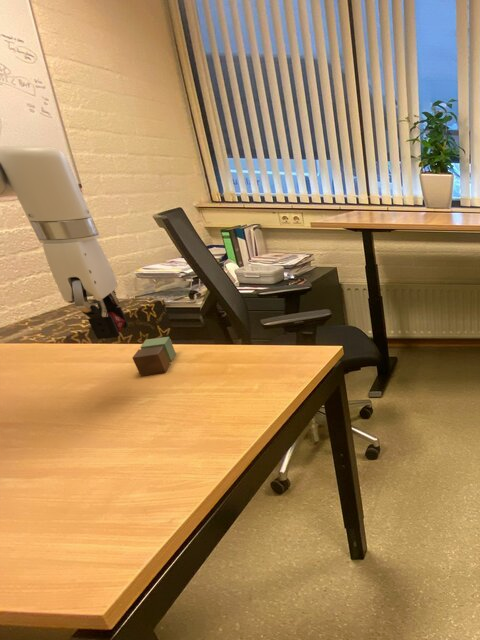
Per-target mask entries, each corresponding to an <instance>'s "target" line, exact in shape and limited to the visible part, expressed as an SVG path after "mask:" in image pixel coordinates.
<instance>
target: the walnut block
mask: <svg viewBox="0 0 480 640" xmlns="http://www.w3.org/2000/svg"><path fill="white" fill-rule="evenodd" d="M132 360H133V363H134V365H135V367H136V369H137V371H138V374H139V376H140V377H146V376H151V375H158V374H166V373H167V370H168V369H169V367H170V365H171V362H169V360H168V358H167V355H166V353H165V350H164V348H163V346H162V347H155V348H147V349H141V348H140V349H137V350H136V352H135V354H134V355H132Z"/></svg>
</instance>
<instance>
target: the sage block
mask: <svg viewBox="0 0 480 640" xmlns="http://www.w3.org/2000/svg"><path fill="white" fill-rule="evenodd" d="M162 346H163V348H164V350H165V353H166V355H167V358H168V360H169V363H171V362H173V360H174V358H175V357H176V355H177V352H176V350H175V348H174V345H173V343H172V340H171V338H170V336H164V337H163V336H162V337H155V338H148V339H145V340H144V341H143V343H142V344H141V345H140V349H147V348H155V347H162Z"/></svg>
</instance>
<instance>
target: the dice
mask: <svg viewBox="0 0 480 640" xmlns="http://www.w3.org/2000/svg"><path fill="white" fill-rule="evenodd" d="M108 315H111V316H112V318H113V320H114V322H115V325H116V327H117V329H118V331H119V333H121V332H122V329H123V328H122V327H123V325H124V322H125V320H124V319H122V318H121V317H119V316H118V315H116V314H115V313H113V312H109V313H108Z"/></svg>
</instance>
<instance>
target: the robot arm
mask: <svg viewBox="0 0 480 640" xmlns="http://www.w3.org/2000/svg"><path fill="white" fill-rule="evenodd" d="M8 196H16V198H17V200H18V201H19V204H20V205H21V207H22V210H23V211H24V214H25V215H26V217H27V220H28V221H29V224H30V226H31V228H32V230H33V232H34V234H35V235H36V238H37V240H38V242H39V243H40V244H42V248H43V252H44V255H45V258H46V261H47V265H48V267H49V269H50V272H51V274H52V276H53V280H54V282H55V284H56V286H57V289H58V290H59V293H60V295H61V297H62V299H63V301H64V302H65V303H67V304H74V306H75V308H76V310H78V311H80V312H82V313H83V315H84V317H85V319H86V320H88V323H89V325H90V327H91V329H92V331H93V333H94V335H95V337H96V339H98V340H104V339H114V338H118V337H120V335H121V334H120V333H121V332H119V331H118V329H117V327H116V325H115V322H114V320H113V318H112V316H111V315H108V313H109V312H113V313H115V314H116V315H118V316H119V317H121V318H122V319H124V320H125V322H124V325H123V327H122V329H126V328H128V327H129V323H128V320H127V318H126V316H125V314H124V311H123V309H122V306H121V302H120V301H119V299H118V297H117V292H116V291H115V290H117V287H118V281H117V279H116V276H115V273H114V271H113V269H112V267H111V264H110V262H109V260H108V258H107V256H106V254H105V252H104V250H103V248H102V246H101V244H100V242H99V241H98V239H100V238H101V235H100V233H99V231H98V228H97V226H96V223H95V221H94V219H93V217H92V214H91V212H90V210H89V207H88V205H87V202H86V200H85V197H84V195H83V193H82V191H81V188H80V186H79V184H78V181H77V179H76V176H75V174H74V171H73V169H72V167H71V165H70V162H69V160H68V158H67V156H66V155H65V154H64V152H63V151H62V150H60V149H59V148H57V147H54V146H48V145H3V146H0V198H2V197H8ZM91 297H92V299H88V298H91ZM95 304H97V306H96V305H95Z"/></svg>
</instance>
